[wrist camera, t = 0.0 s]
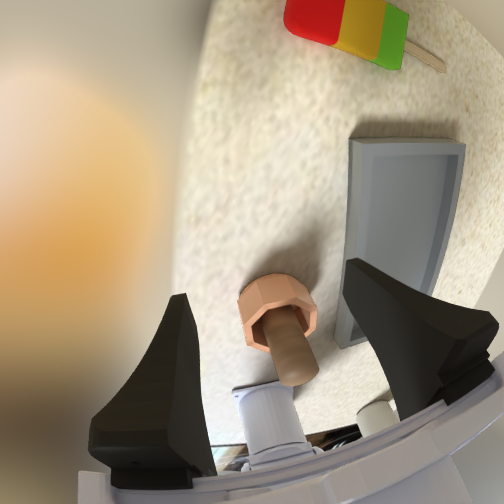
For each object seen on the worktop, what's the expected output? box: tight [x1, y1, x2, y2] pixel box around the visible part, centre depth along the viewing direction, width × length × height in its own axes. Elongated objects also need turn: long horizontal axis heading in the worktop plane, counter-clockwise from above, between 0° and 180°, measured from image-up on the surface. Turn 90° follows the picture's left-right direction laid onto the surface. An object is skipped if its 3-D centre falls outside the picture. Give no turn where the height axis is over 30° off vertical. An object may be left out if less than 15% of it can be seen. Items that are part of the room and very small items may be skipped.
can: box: [356, 400, 399, 448], centre depth 44 cm, size 8×8×12 cm
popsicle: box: [284, 0, 447, 73], centre depth 15 cm, size 6×15×2 cm, turn 80°
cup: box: [237, 273, 317, 353], centre depth 25 cm, size 6×6×4 cm
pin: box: [260, 304, 319, 386], centre depth 23 cm, size 3×3×8 cm
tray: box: [334, 137, 466, 350], centre depth 26 cm, size 22×12×2 cm, turn 6°
